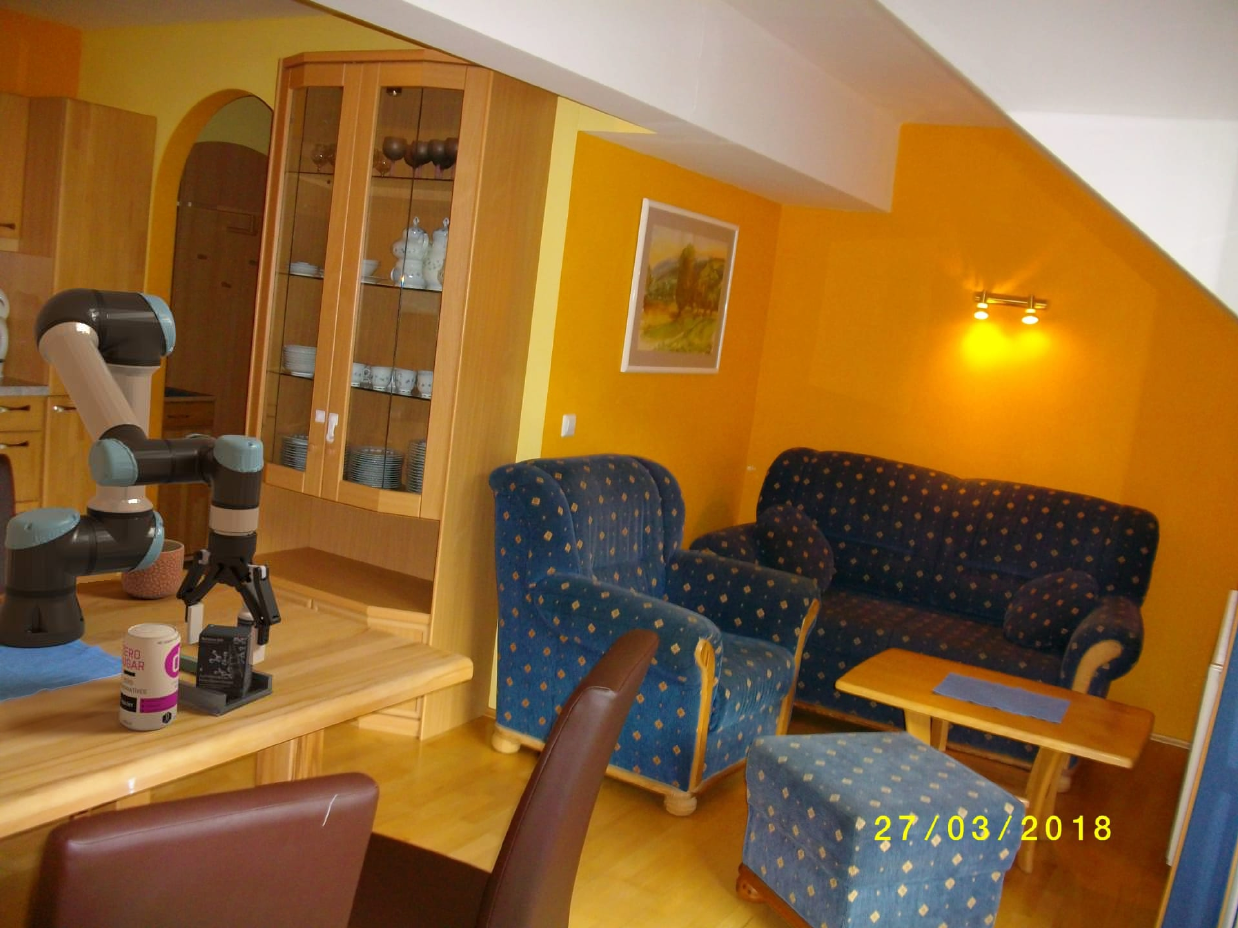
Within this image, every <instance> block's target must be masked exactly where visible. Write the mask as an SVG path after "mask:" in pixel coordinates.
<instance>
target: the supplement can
mask: <svg viewBox="0 0 1238 928" xmlns="http://www.w3.org/2000/svg"><path fill="white" fill-rule="evenodd" d="M181 639H182V637H181V635H180V633H179V632H178V628H177V627H176V626H174V625H173V624H168V623H163V622H148V623H147V622H145V623H138V624H135V625H133V626H131V627H129V628H128V630H127V632H126V634H125V636H124V637H123V640H122V654H121V655H122V657H121V679H120V680H121V681H120V695H119V696H120V700H119V701H120V702H119V717H118V718H119V719H118V720H119V722H120V723H121V724H122V725H124V726H125V728H127V729H129V730H134V731H141V732H142V731H144V732H149V731H156V730H159V729H163V728H166V727H168V726H170V725H171V724H172V723H173V722H174V721H175V720H176V719H177V715H178V713H177V712H178V710H177V709H178V704H177V696H178V680H179V679H180V678H179V677H180V673H179V671H180V668H179V659H180V653H181V641H182V640H181Z"/></svg>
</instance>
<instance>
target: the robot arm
mask: <svg viewBox="0 0 1238 928" xmlns="http://www.w3.org/2000/svg"><path fill="white" fill-rule="evenodd" d="M33 323H34V324H33V329H32V330H33V332H32V333H33V340H34V343H35V347H36V348H37V350H38V353H39V354H40V356H41V358H42V359H43V360H44V361H45V362H47V363H48V364H49V365H52V366H53V367H54V369H55V370H56V373H57V375H58V377H59V378H60V381H61V382H62V384H63V386H64V388H65V390H66V392H67V395H68V396H69V397H70V400H71V402H72V403H73V405H74V407H75V409H76V411H77V414H78V415H79V417H80V418H81V420H82V421H81V422H83V425H84V427H85V428H86V430H87V432H88V434H89V436H90V438H91V440H92V442H93V444H92V445H91V446H90V449H89V452H88V461H87V462H88V467H89V472H90V473H89V474H90V476H91V478H92V480H93V481H94V482H95V484H96V490H95V491H96V492H95V495H94V496H93V497H91V499H89V500H88V501H87V502H86V513H85V514H79V511H78V510H77V509H75V508H73V507H68V506H58V507H54V506H50V507H41V508H40V507H39V508H33V509H30V510H26V511H23V512H21V513H18V514H17V515H15V516H13V517H11V518H10V520H9V521H8V522H7V526H6V535H5V540H4V546H5V557H4V558H5V562H4V563H5V565H4V595H3V599H2V600H1V604H0V644H2V645H6V646H10V647H11V646H12V647H19V648H41V647H44V648H45V647H53V646H58V645H63V644H67V643H70V642H74V641H76V640H78V639H80V638H82V637H83V636H84V635H85V633H86V632H85V630H86V620H85V617H84V615H83V612H82V608H81V605H80V603H79V599H78V596H77V578H81V577H89V576H97V575H99V576H100V575H108V574H115V573H116V574H117V573H121V572H125V573H127V572H132V571H134V570H140V569H146V568H148V567H150V566H151V565H152V564H153V563H154V562H155V561H156V560H157V559H158V557H159V555H160V553H161V550H162V547H163V542H164V539H165V528H164V526H163V525H164V521H163V518H162V517H161V514H159V512H157V511H155V510H154V504H153V503H152V501H150V500H149V499H148V497H146V488H147V487H146V486H155V485H157V486H158V485H179V484H197V483H198V484H199V483H202V484H205V485H208V486H210V487H211V499H210V500H211V502H210V511H209V512H210V514H209V524H208V525H209V528H210V530H209V531H208V540H207V548H204V549H200V550H196V551H194V553H193V559H192V562H191V564H190V567H189V569H188V571H187V573H186V575H185V577H184V579H183V581H181V583H180V586H179V588H178V589H177V592H176V594H175V597H176V599H177V600H181V601H183V604H184V605H185V610H184V611H185V615H184V621H185V623H186V634H185V635H186V637H185V644H186V645H192V644H195V643H199V634H200V633H201V632H202V631H203V619H204V617H203V616H204V606H205V605H204V603H201V602H202V601H203V598H205V596H207V594H208V593H209V592H210V591H211V590H212V589H213V588H214V587H215V586H216V585H217V584H220V585H227V586H228V587H230V588H234V589H235V591H236V592H237V593H240V595H241V598H242V601H243V600H244V602H245V604H246V606H247V607H248V609H249V611H250V613H251V615H252V617H253V619H254V621H255V623H256V625H254V626H252V631H251V644H250V657H249V664H251V665H257V664H258V663H262V662H263V661H265V653H266V652H265V650H266V645H267V644H268V643H269V640H270V629H271V628H270V627H271V626H274V625H277V624H280V623H281V621H282V618H281V614H280V611H279V607H278V604H277V600H276V596H275V594H274V590H273V586H272V583H271V581H270V567H269V565H267V564H262V565H255V564H254V561H253V559H254V556H255V553H256V552H257V542H258V533H257V531H256V530H257V529H258V527H259V526H258V525H259V515H260V514H259V513H260V501H261V493H262V482H263V481H262V479H263V470H264V464H265V463H264V462H265V461H264V445H263V442H262V441H261V440H260V439H259V438H257V437H254V436H253V437H252V436H248V435H241V434H224V435H220V436H218V437H217V438H215V437H213V436H211V435H206V434H201V433H192V434H188V435H185V436H184V437H182V438H181V437H179V438H149V435H150V434H149V433H150V432H149V431H150V430H149V429H150V413H151V412H150V411H151V393H152V392H151V391H152V377H153V375H154V373H155V372H156V371H158V370H159V369H161V367H162V358H165V357H167V356H170V354H172V352H173V350H174V347H175V344H176V337H177V335H176V333H177V332H176V325H175V320H174V317H173V313H172V311H171V310H170V307H169V306H168V304H167V303H166V302H165V300H164V299H162V298H161V297H160V296H157V295H154V294H148V293H141V292H139V291H138V292H135V291H122V290H121V291H119V290H110V289H109V290H107V289H106V290H105V289H93V288H87V287H73V288H68V289H64V290H62V291H60V292H58V293H56V294H54V295H51V296H50V298H48V299H47V300H46V301H45V302H44V303H43V305H41V307H40V308H39V310H38V312H37V314H36V316H35V318H34V322H33ZM208 565H209V567H210V570H208V572H207V573H206V574H205V575H204V573H205V571H206V569H207V568H208ZM203 575H204V576H203ZM202 577H203V579H202V580H201V578H202ZM200 580H201V581H200ZM245 582H246V583H245ZM262 618H263V619H262Z"/></svg>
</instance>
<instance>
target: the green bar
mask: <svg viewBox="0 0 1238 928" xmlns="http://www.w3.org/2000/svg"><path fill="white" fill-rule="evenodd" d="M197 659H198V657H194V656H190V655H187V654H184V653H181V652H180V659H179V669H181V670H185V671H187V672H192V673H195V674H196V673H197Z"/></svg>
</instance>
